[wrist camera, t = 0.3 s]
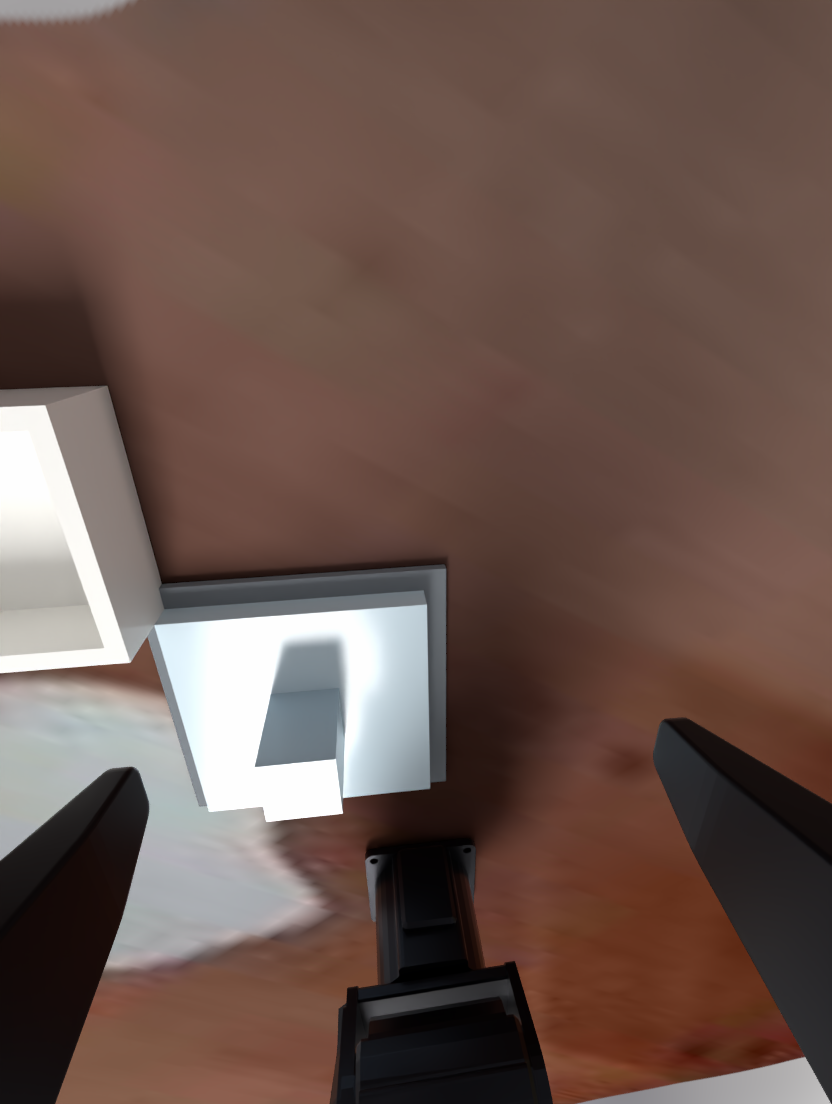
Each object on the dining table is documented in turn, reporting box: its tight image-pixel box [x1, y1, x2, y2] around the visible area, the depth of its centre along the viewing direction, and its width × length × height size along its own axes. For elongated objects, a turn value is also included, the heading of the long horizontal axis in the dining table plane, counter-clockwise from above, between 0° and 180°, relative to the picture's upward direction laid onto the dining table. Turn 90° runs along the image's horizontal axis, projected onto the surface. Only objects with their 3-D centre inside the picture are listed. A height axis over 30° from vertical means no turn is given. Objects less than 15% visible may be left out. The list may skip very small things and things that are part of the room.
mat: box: [148, 564, 446, 807], centre depth 25 cm, size 13×13×1 cm
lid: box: [154, 590, 430, 822], centre depth 22 cm, size 11×11×5 cm
